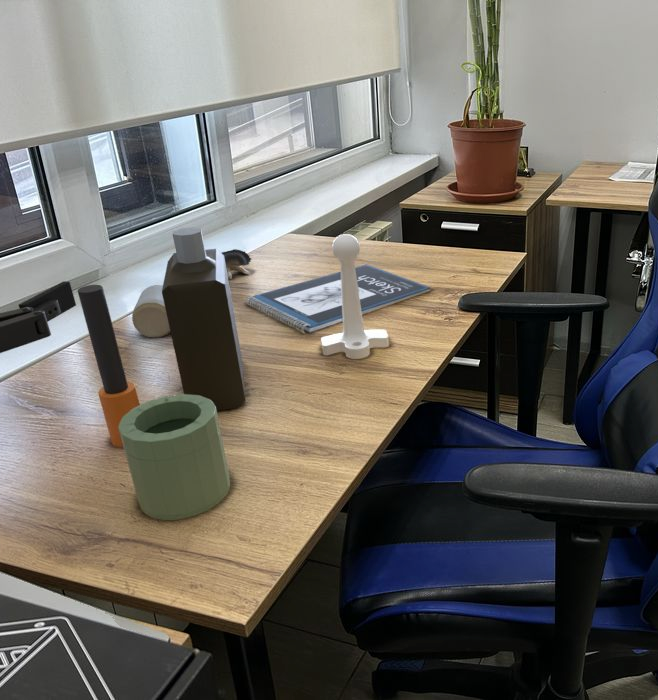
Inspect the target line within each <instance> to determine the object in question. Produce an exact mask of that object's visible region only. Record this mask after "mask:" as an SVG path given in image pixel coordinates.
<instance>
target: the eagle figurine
mask: <svg viewBox="0 0 658 700" xmlns="http://www.w3.org/2000/svg"><path fill="white" fill-rule="evenodd" d="M221 253H222V254H223V255H224V258H225V264H226V269H227V275H228V280H232V279H233V275H232V273H231V271H235V272H239V273H242V274H245V275H247V276H249V275H250V271H249V270H247V269H245V268H244V267H243V266H248V265H250V263H251V261H252V257H250V255H249V254H248V253H247V252H246V251H244V250H241V249H237V248H233V249H231V250H227V251H222V252H221Z"/></svg>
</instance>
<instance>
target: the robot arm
mask: <svg viewBox="0 0 658 700" xmlns="http://www.w3.org/2000/svg"><path fill="white" fill-rule="evenodd" d="M76 306H77V303H76V299H75V296H74V292H73V287H72V284H71V281H66V280H65V281H62V282H61V281H60V282H59V283H57V284H55V285H54V286H51V287H50V288H47V289H45V290H44V291H42V292H40V293H38V294H36V295H34V296H33V297H32V296H31V298H28V299H26V300H25V301H23V302H21V303H19V304H18V308H16V309H11V310H8V311H3V312H0V354H3V353H5V352H8V351H11V350H14V349H16V348H20V347H23V346H26V345H28V344H31V343H34V342H38V341H40V340H44V339H46V338H49V337H51V336H52V332H51V329H50V326H49V322H50V321H53V320H54V319H55V318H57V317H58V316H60V315H63V314H64V313H65V312H67V311H69V310H71V309H73V308H74V307H76Z"/></svg>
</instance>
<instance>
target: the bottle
mask: <svg viewBox="0 0 658 700" xmlns="http://www.w3.org/2000/svg"><path fill="white" fill-rule="evenodd" d="M172 239H173V244H174V249H175V252H173V253H172V255H171V256H170V258H169V259H168V261H167V264H166V268H165V274H164V279H163V284H162V285H163V288H162V295H163V300H164V305H165V309H166V314H167V318H168V323H169V327H170V336H171V337H170V338H171V341H172V345H173V349H174V354H175V358H176V359H175V360H176V363H177V369H178V372H179V377H180V382H181V386H182V391H183V394H188V395H200V396H202V397H205V398H208V399H210V400H211V401H212V402H213V403H214V405H215V406H216V410H217V413H218V412H223V411H229V410H235V409H236V410H237V409H238V408H240V407H242V406H243V405H244V403H246V391H245V390H246V389H245V377H244V376H245V375H244V364H243V356H242V351H241V345H240V340H239V334H238V327H237V321H236V317H235V311H234V304H233V299H232V294H231V288H230V287H231V286H230V280H229V278H228V275H227V269H226V264H225V258H224V255H223V254H222V252H220V250H218V249H217V248H208V249H206V246H205V241H204V236H203V230H202V228H200V227H194V226H193V227H192V226H191V227H182V228H178V229H176V230H173V231H172Z"/></svg>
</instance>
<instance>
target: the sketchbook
mask: <svg viewBox="0 0 658 700" xmlns="http://www.w3.org/2000/svg"><path fill="white" fill-rule="evenodd" d="M355 270H356V277H357V284H358V291H359V298H360V305H361V312H362V316H363V315H366V314H369V313H371V312H374V311H377V310H380V309H383V308H385V307H388V306H392V305H394V304H397V303H400V302H402V301H406V300H409V299H411V298H414V297H417V296H420V295H422V294H426V293H429V292H431V290H432V289H431V287H430V286H428V285H425V284H422V283H420V282H416V281H413V280H411V279H408V278H406V277H402V276H400V275H397V274H394V273H392V272H388V271H386V270H383V269H380V268H378V267H375V266H372V265H370V264H362V265H359V266H355ZM245 302H246V305H247V306H250V307H252V308H254V309H255V310H258V311H259V312H262V313H264V314H266V315H268V316H269V317H271V318H273V319H276V320H277V321H279V322H281V323H283V324H286V325H288V326H289V327H291V328H293V329H295V330H296V331H299V332H301V333H302V334H306V332H307V333H309V334H312V333H314V332H315V333H316V332H317V331H321V330H323V329H326V328H329V327H332V326H334V325H338V324H340V323H343V315H342V289H341V271H338V272H334V273H330V274H326V275H323V276H320V277H315V278H312V279H309V280H306V281H302V282H298V283H295V284H291V285H288V286H283V287H280V288H277V289H273V290H270V291H266V292H262V293H259V294H255V295H251V296H248V297H247V298H246V301H245Z"/></svg>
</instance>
